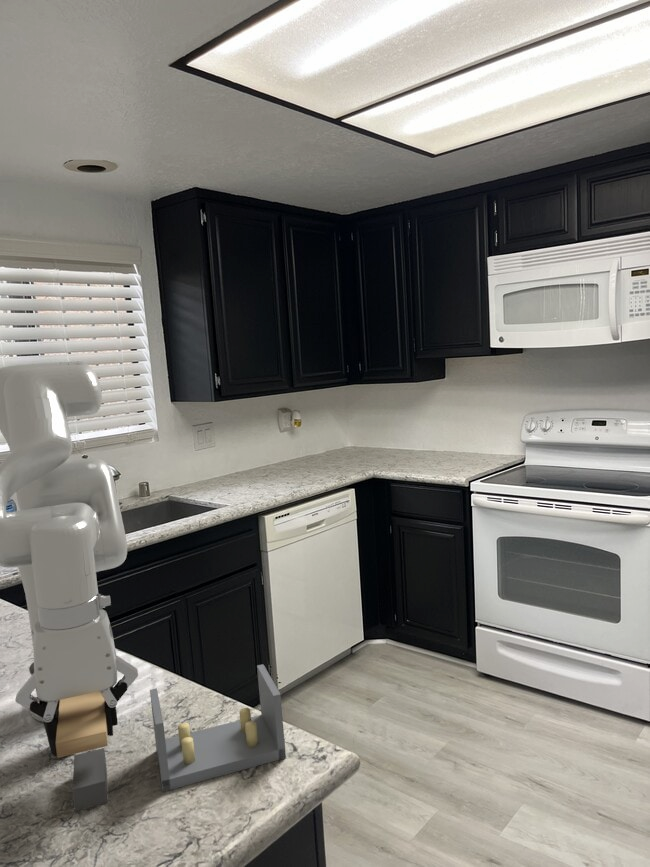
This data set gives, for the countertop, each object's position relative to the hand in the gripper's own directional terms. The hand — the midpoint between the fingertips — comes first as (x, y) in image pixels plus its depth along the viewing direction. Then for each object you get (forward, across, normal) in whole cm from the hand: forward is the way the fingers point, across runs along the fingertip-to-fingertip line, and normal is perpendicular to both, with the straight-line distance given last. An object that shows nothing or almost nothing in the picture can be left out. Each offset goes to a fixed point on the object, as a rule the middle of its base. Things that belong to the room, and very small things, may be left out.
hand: (84, 735), depth 88 cm
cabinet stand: (+7, -18, +1) cm, 19 cm away
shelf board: (-1, 0, 0) cm, 1 cm away
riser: (+7, 0, +1) cm, 7 cm away
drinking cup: (+8, +3, -11) cm, 14 cm away
